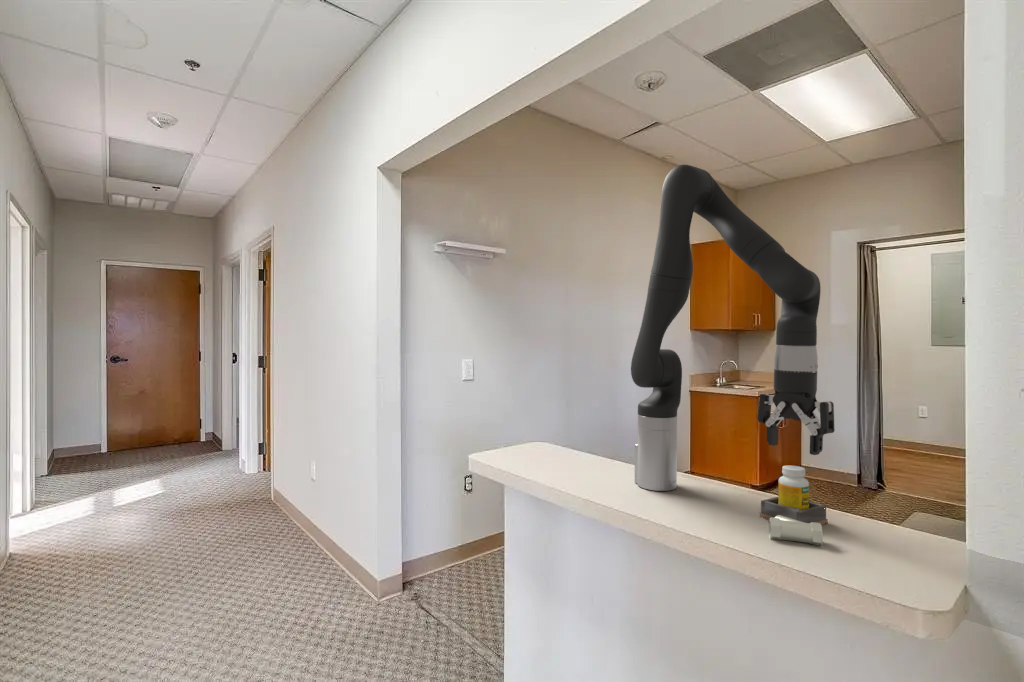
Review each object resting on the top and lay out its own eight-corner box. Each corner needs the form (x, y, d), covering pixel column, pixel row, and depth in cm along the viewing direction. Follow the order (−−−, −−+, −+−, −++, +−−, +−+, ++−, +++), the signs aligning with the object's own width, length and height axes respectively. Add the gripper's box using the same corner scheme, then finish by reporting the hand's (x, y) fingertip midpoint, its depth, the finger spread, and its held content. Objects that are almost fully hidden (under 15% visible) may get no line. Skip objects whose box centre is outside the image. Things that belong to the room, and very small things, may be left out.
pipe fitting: (767, 531, 97) (771, 541, 91) (767, 510, 98) (770, 519, 91) (816, 537, 94) (823, 548, 88) (815, 516, 95) (822, 525, 88)
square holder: (759, 516, 104) (759, 500, 104) (785, 510, 108) (785, 494, 108) (800, 530, 96) (801, 513, 96) (827, 523, 100) (827, 506, 100)
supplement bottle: (782, 509, 106) (782, 463, 106) (811, 515, 102) (812, 467, 102) (775, 516, 102) (775, 467, 102) (805, 522, 98) (805, 472, 98)
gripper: (751, 366, 106) (749, 444, 107) (820, 371, 94) (818, 460, 94) (773, 365, 110) (771, 440, 110) (843, 370, 98) (841, 455, 98)
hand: (793, 449), depth 102 cm, fingers open, 8 cm apart
